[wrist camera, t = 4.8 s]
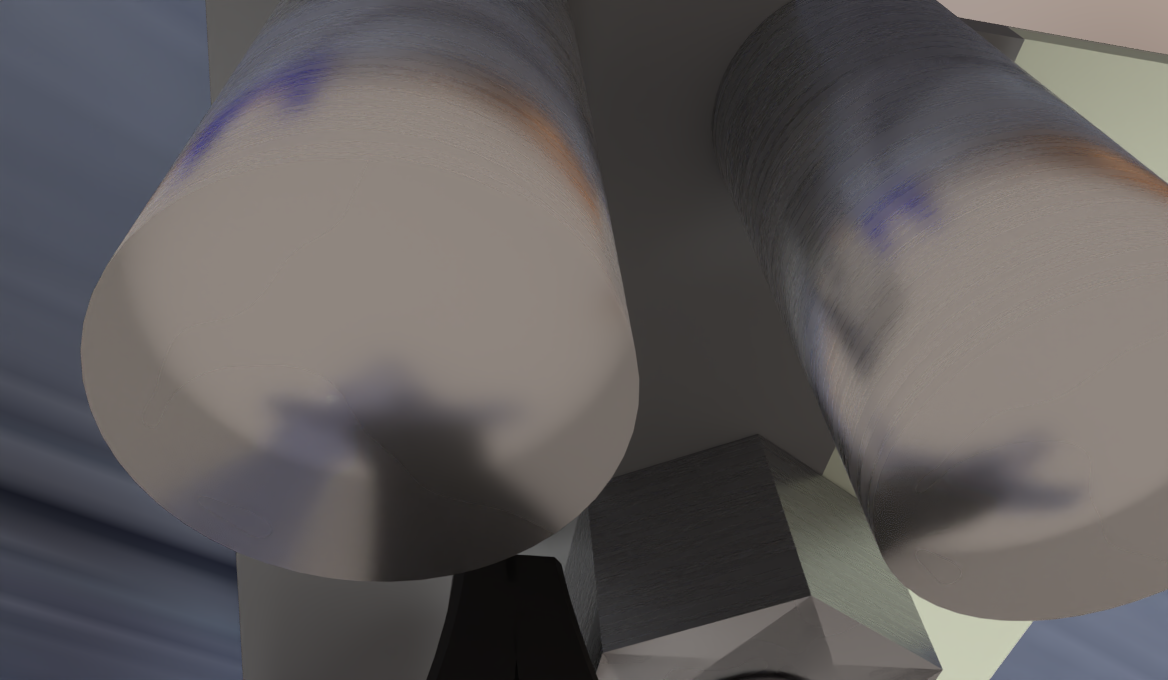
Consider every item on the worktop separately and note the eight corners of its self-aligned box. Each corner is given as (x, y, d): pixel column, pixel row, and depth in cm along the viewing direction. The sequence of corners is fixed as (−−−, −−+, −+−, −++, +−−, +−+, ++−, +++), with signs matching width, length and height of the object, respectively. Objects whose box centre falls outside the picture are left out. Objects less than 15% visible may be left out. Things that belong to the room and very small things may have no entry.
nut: (893, 593, 14) (962, 758, 12) (602, 672, 14) (618, 842, 12) (848, 406, 11) (924, 570, 9) (503, 510, 12) (503, 686, 10)
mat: (875, 804, 18) (882, 824, 18) (255, 788, 16) (250, 811, 16) (1387, 93, 10) (1416, 108, 9) (212, -117, 8) (200, -107, 8)
